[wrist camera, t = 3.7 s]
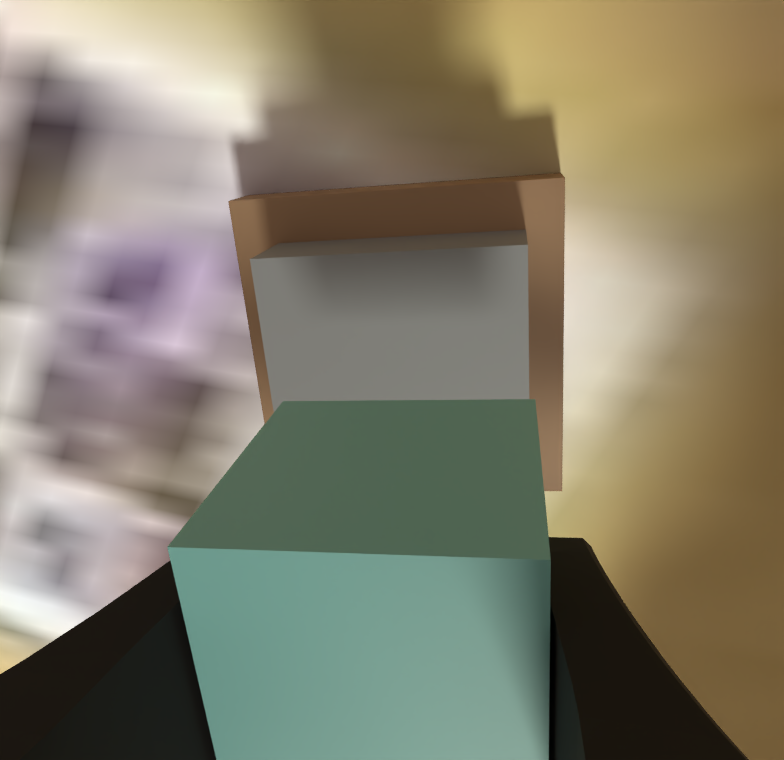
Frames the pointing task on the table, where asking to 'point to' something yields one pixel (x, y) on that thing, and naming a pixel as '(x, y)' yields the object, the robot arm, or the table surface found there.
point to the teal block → (375, 585)
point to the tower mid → (396, 317)
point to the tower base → (430, 217)
